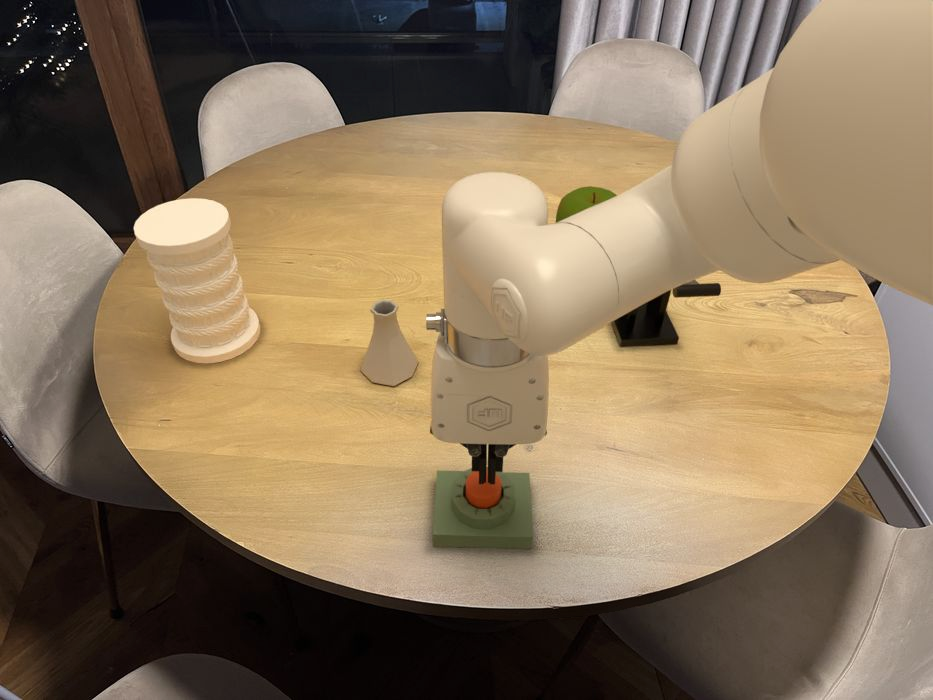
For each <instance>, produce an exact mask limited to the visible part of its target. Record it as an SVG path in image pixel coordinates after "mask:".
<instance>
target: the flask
mask: <svg viewBox="0 0 933 700" xmlns="http://www.w3.org/2000/svg"><path fill="white" fill-rule="evenodd" d="M398 310H399V304H397V303H396V302H395V301H393V300H391V299H384V298H381V299H380V300H377V301H375V302H374V303H372V305H371V307H370V309H369V311H370V313H371V314H372V315H373V328H372V334H371V336H370V337H371V338H370V340H369V344H368V346H367V349H366V353H365V355H364V358H363V361H362V364H361V366H360V369H359V370H360V371H361V373H362V374H364V376H366V378H367V379H368V380H370V382H372V383H375V384H381V385H386V386H391V387H395V386H397V385H399V384H400V383H402V382H404V381H406V380H409V379H411V378H412V377H413V376H414V374H415V371H416V369H417V368H418V367H417V366H418V364H419V362H420V361H419V359H418V358H417V356H416V354H415V353H414V351H413V350H412V348H411V346H410V345H409V343H408V341H407V339H406V337H405V336H404V334H403V332H402V330H401V327H400V325H399V322H398V321H399V320H398V317H397V316H398V315H397V312H398Z"/></svg>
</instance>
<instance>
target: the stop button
mask: <svg viewBox="0 0 933 700" xmlns="http://www.w3.org/2000/svg"><path fill="white" fill-rule="evenodd" d="M501 485H502V484H501V480H500V478H499V476H498V475H497V474H496V475H495V484H490V483H488V470H486V483H484V484H479V471H475V472H473V473H471V474H470V475H469V476H468V478H467V480H466V498H467V500H468V501H469V503H470V504H472V505H473V506H475V507H477V508H490V507H492V506H494V505H496V504H497V503H498V501H499V500H500V497H501Z"/></svg>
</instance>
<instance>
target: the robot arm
mask: <svg viewBox="0 0 933 700" xmlns="http://www.w3.org/2000/svg"><path fill="white" fill-rule="evenodd" d="M616 195H617V196H615V197H613V198H611V199H609V200H607V201H604V202H602V203H600V204H597V205H595V206H592V207H590V208H588V209H585V210H583V211H581V212H579V213H577V214H575V215H572V216H570V217H568V218H566V219H564V220H561V221H559V222H557V223H556V222H554V223H551V224H548V223H549V205H548V200H547V198H546V195H545V193H544V192H543V191H542V189H541V187H539V186H538V185H537V184H536V183H534V182H533V181H532V180H530V179H528V178H527V177H524V176H521V175H519V174H515V173H510V172H502V171H485V172H478V173H474V174H470V175H467V176H465V177H463V178H461V179H459V180H458V181H456V182H455V183H454V184H452V185H451V186H450V188H449V189H448V190H447V191H446V193H445V195H444V198H443V200H442V204H441V245H442V248H441V249H442V278H443V279H442V281H443V283H442V284H443V308H441V309H440V312H439V311H438V312H435V313H426V319H425V327H426V331H435V333H439V334H438V336H437V340H436V344H435V347H434V351H433V356H432V363H431V364H432V365H431V366H432V367H431V374H430V380H431V381H430V425H429V426H430V427H429V434H431V435H432V436H433V437H434V438H435V439H436V440H439V441H441V442H444V443H449V444H459V445H461V446H462V447H464V448H466V450H467V452H468V455H469V456H470V457H471V468H472V471H479V484H484V483H486V469H487V467H488V483H490V484H495V475H496V472H504V469H503V468H504V457H506V456H507V455H508V452H509V450H510V449H511V448H513V447H516V446H517V445H530V444H535V443H539V442H540V441H542V440H543V439H545V437H546V436H547V434H548V430H547V429H548V428H547V427H548V417H549V416H548V415H549V398H550V397H549V395H550V368H549V366H550V365H549V357H548V356H551V355H557V354H558V353H561V352H563V351H566V350H567V349H569V348H571V347H572V346H574V345H576V344H578V343H580V342H581V341H583V340H584V339H586V338H588V337H590V336H591V335H593V334H595V333H597V332H598V331H600V330H602V329H603V328H605V327H606V326H609V324H611V322H612V321H614V320H616V319H618V318H620V317H621V316H623V315H625V314H627V313H628V312H630V311H632V310H634V309H636V308H637V307H639V306H641V305H643V304H645V303H646V302H648V301H650V300H652V299H654V298H656V297H658V296H660V295H661V294H663V293H665V292H667V291H669V290H671V289H672V290H673V289H674V288H676V287H678V286H680V285H683V284H685V283H688V282H690V281H693V280H697V279H701V278H702V277H705V276H708V275H710V274H713V273H716V272H719V271H720V272H722V273H724V274H725V275H726V276H729V277H731V278H733V279H735V280H738V281H742V282H746V283H751V284H752V283H753V284H766V283H774V282H777V281H781V280H785V279H788V278H790V277H793V276H797V275H800V274H802V273H805V272H808V271H811V270H813V269H818V268H820V267H824V266H826V265H829V264H832V263H835V262H838V261H842V262H844V263H846V264H848V265H850V266H852V267H853V268H855V269H856V270H859V271H861V272H862V273H864V274H866V275H868V276H869V277H871V278H873V279H875V280H877V281H879V282H881V283H883V284H885V285H887V286H889V287H890V288H892V289H895V290H896V291H899V292H901V293H903V294H906V295H908V296H910V297H912V298H915V299H917V300H918V301H921V302H924V303H926V304H928V305H931V306H933V0H820V1H819V2H818V3H817V4H816V5H815V7H814V8H813V9H812V10H811V11H810V12H809V13H808V14H807V15H806V16H805V18H804V19H803V20H802V21H801V23H799V25H798V27H797V28H796V30H795V31H794V33H793V34H792V36H791V37H790V39H789V40H788V42H787V43H786V45H785V46H784V47H783V49H782V51H781V52H780V53H779V55H778V58H777V60H776V62H775V65H774V66H773V67H772V68H771V69H769V70H768V71H766V72H764V74H762V75H760V76H759V77H757V78H756V79H754V80H752V81H751V82H749V83H747V84H746V85H744V86H743V87H741V88H740V89H738V90H736V91H735V92H734V93H732V94H731V95H729V96H727V97H725V98H724V99H723V100H722V101H720V102H718V103H716V104H715V105H714V106H712V107H710V108H708V109H706V111H704V112H703V113H701V114H700V115H698V116H697V117H696V118H695V119H694V120H692V122H691V123H690V124H688V125H687V127H686V128H685V129H684V131H683V132H682V133H681V136H680V138H679V139H678V141H677V144H676V146H675V149H674V152H673V158H672V162H671V164H670V165H668V166H667V167H664V168H663V169H662V170H660V171H658V172H657V173H656V172H655V174H653V175H651V176H650V177H648V178H646V179H644V180H643V181H641V182H640V183H638V184H636V185H634V186H632V187H631V188H629V189H627V190H625V191H623V192H621V193H619V194H616ZM672 290H671V291H672Z"/></svg>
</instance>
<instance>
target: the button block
mask: <svg viewBox="0 0 933 700" xmlns="http://www.w3.org/2000/svg"><path fill="white" fill-rule="evenodd" d="M486 470H488V466H487V469H486ZM473 472H475V471H472V467H471V468H469V469H466V470H436V479H435V491H434V492H435V493H434V495H435V496H434V506H433V508H434V509H433V520H432V547H443V548H479V549H480V548H481V549H482V548H483V549H515V550H516V549H518V550H519V549H522V550H524V549H525V550H531V549H532V548H533V547H532V546H533V541H534V533H533V532H534V530H533V517H532V516H533V512H532V497H531V496H532V495H531V480H530V472H515V471H513V472H510V471H508V472H507V471H503V472H496V474H497V475H498V476H499V478H500V480H501V484H502V485H501V497H500V500H499V501H498V503H497V504H496V505H494V506H492V507H490V508H477V507H475V506H473V505H472V504H470V503H469V501H468V500H467V498H466V480H467V478H468V476H469V475H470V474H471V473H473Z"/></svg>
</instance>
